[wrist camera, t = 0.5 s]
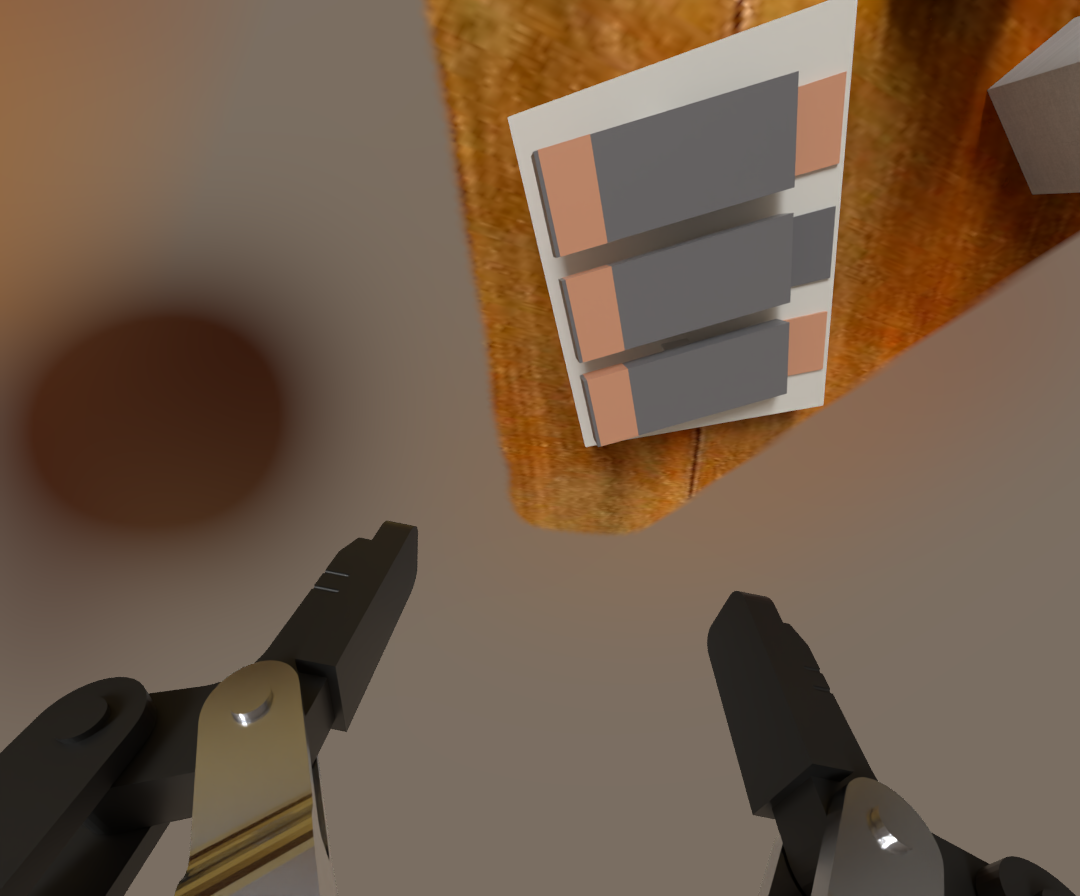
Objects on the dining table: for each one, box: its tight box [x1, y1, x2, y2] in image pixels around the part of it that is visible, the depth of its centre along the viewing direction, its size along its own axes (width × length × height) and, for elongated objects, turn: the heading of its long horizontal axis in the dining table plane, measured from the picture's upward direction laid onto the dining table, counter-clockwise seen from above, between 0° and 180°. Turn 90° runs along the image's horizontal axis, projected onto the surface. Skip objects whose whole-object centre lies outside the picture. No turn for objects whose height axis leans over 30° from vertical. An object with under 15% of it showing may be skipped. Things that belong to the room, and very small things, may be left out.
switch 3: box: [580, 319, 790, 447], centre depth 24 cm, size 12×4×1 cm, turn 105°
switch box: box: [508, 0, 857, 447], centre depth 25 cm, size 16×20×5 cm
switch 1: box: [531, 71, 799, 258], centre depth 19 cm, size 12×4×1 cm, turn 105°
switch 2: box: [558, 213, 794, 363], centre depth 22 cm, size 12×4×1 cm, turn 105°
